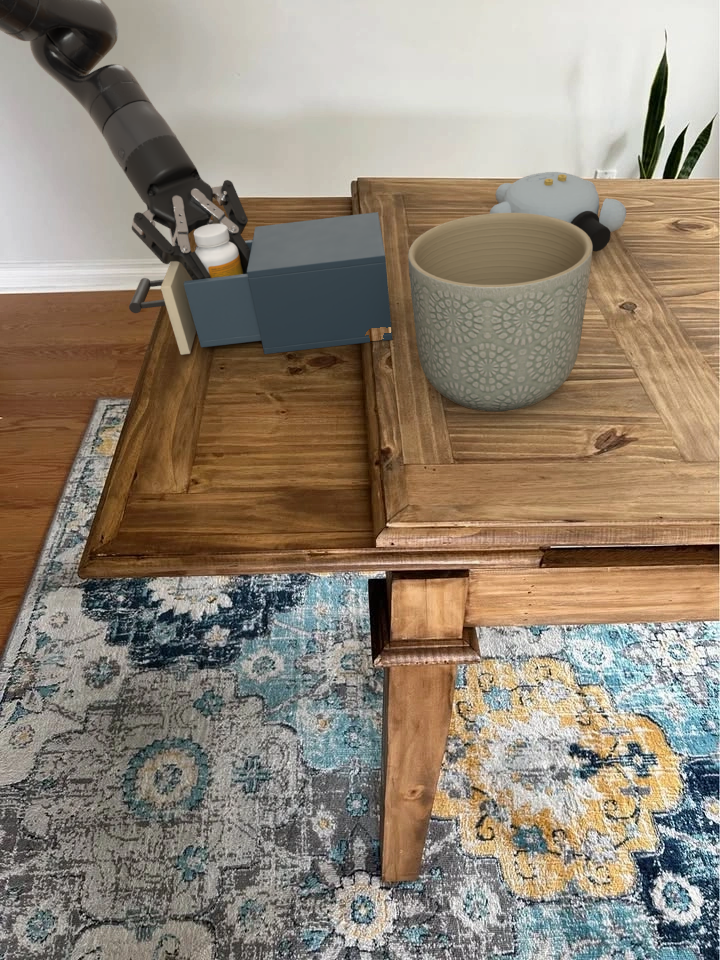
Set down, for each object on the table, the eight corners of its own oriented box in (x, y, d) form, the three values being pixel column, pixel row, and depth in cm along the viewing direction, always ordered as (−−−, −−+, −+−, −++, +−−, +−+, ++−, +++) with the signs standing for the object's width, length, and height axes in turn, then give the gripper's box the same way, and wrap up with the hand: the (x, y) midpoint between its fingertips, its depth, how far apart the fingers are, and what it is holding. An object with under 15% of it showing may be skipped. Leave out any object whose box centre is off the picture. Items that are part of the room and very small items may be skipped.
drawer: (138, 359, 89) (115, 292, 83) (156, 312, 98) (136, 249, 93) (298, 341, 88) (286, 272, 82) (301, 295, 98) (290, 231, 92)
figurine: (464, 228, 110) (541, 289, 97) (467, 172, 104) (549, 229, 91) (560, 201, 115) (646, 256, 101) (568, 145, 109) (660, 196, 95)
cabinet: (264, 354, 88) (246, 271, 82) (270, 303, 99) (255, 226, 92) (392, 339, 88) (385, 255, 81) (385, 290, 98) (378, 211, 91)
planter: (519, 453, 69) (525, 304, 59) (384, 397, 78) (371, 260, 69) (608, 372, 77) (627, 230, 68) (478, 330, 87) (477, 201, 77)
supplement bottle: (257, 298, 92) (241, 222, 86) (234, 318, 89) (216, 240, 82) (221, 294, 94) (204, 219, 88) (198, 313, 91) (178, 236, 84)
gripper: (194, 157, 94) (266, 269, 94) (93, 191, 87) (171, 311, 87) (207, 117, 87) (285, 237, 87) (98, 151, 80) (183, 281, 81)
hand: (227, 274), depth 87 cm, fingers closed on supplement bottle, 5 cm apart
